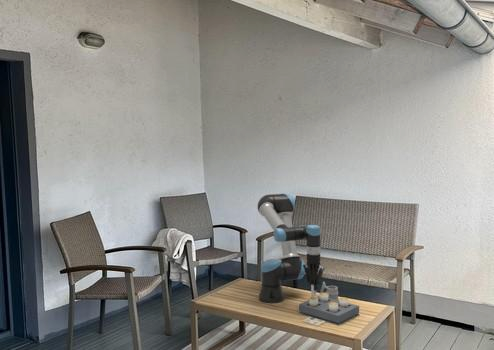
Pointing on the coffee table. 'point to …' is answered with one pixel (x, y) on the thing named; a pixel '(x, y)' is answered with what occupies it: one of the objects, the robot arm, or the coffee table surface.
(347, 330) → the coffee table surface
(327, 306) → the console
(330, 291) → the mug
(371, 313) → the coffee table surface
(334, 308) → the button
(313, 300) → the button
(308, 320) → the card
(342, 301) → the button
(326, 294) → the button
